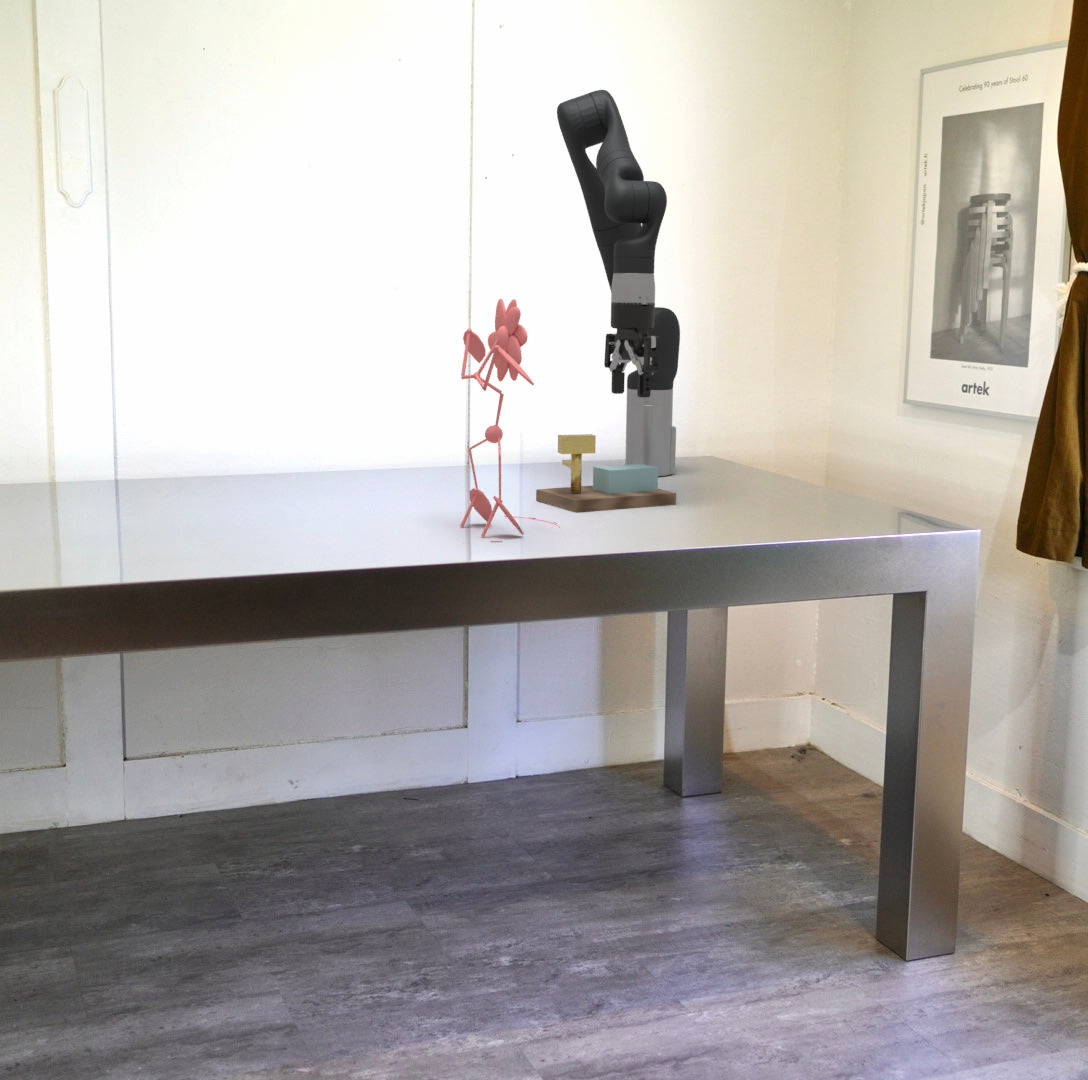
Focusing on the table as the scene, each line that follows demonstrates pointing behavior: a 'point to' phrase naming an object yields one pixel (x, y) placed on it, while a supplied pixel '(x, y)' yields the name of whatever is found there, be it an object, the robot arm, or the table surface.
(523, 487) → the table surface
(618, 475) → the cover
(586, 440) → the t key
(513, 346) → the pink stick flower
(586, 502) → the base
